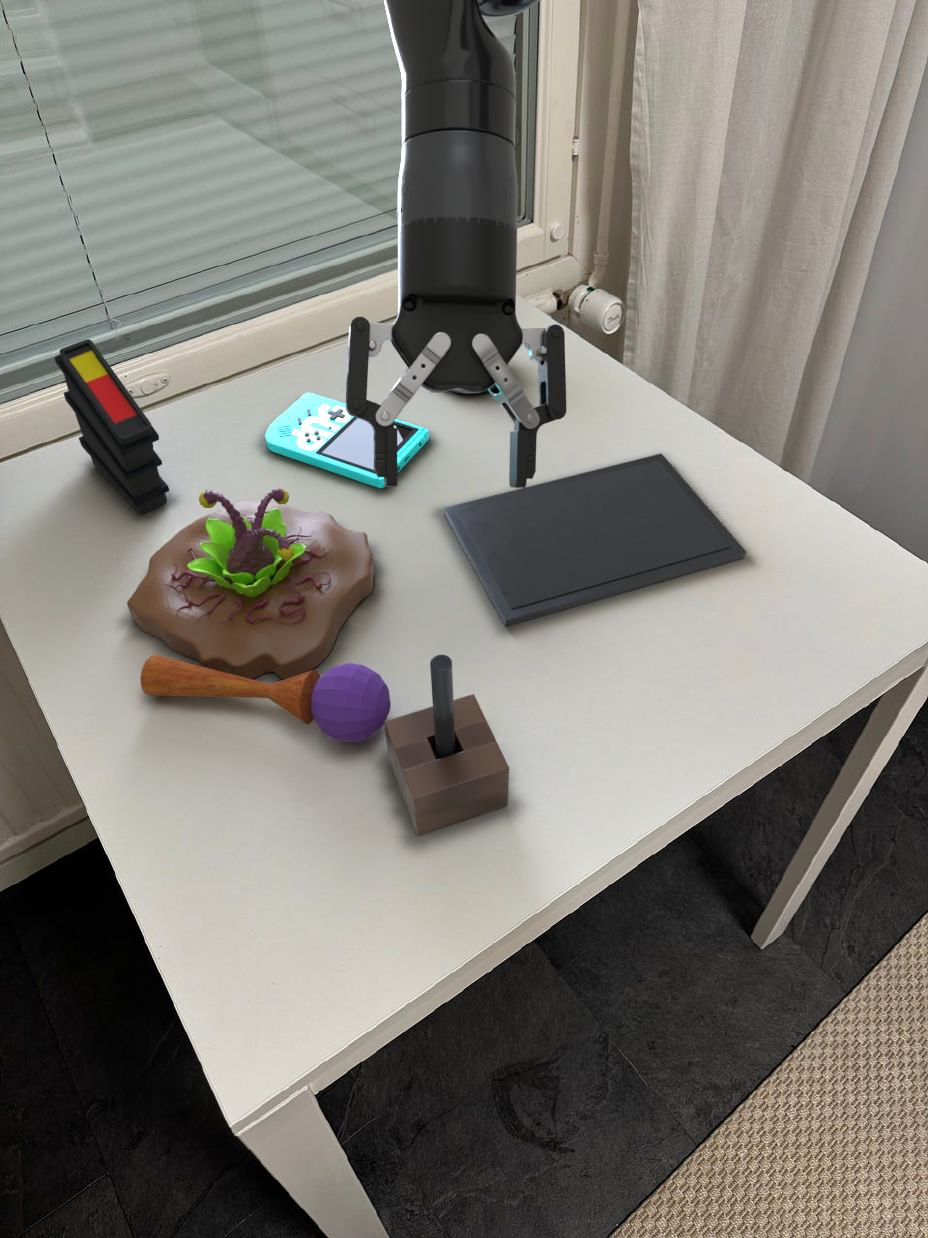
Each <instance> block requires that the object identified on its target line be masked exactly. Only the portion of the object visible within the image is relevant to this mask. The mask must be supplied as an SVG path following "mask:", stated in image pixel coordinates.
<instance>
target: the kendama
mask: <svg viewBox="0 0 928 1238" xmlns="http://www.w3.org/2000/svg"><path fill="white" fill-rule="evenodd" d="M140 686H141V689H142V691H143V693H144V694H145V695H146V696H161V697H162V696H163V697H201V698H203V697H205V698H206V697H207V698H243V699H244V698H245V699H269V700H270V701H272V702H273V703H274V704H275V705H277V706H279V707H280V708H282V709H283V710H285V711H286V712H288V713H289V714H290V715H292V716H293V717H295V718H296V719H297V720H299V721H300V722H301V723H303V724H305V725H310V724H311V723H313V721H315V723H316V724H317V726H318V727H319V729H320V731H321V732H322V733H324V734H325V735H327V736H329V737H330V738H331V739H333V740H336V741H342V742H347V743H357V742H361V741H365V740H368V739H370V738H371V737H372V736H373V735H375V734H376V733H377V732H378V731H380V730H381V729H382V728H383V727H384V721H386V720H388V716H389V714H390V711H391V696H390V689H389V687H388V685H387V684H386V682H385V680H384V678H383V677H382V676H381V675H380V673H378V672H376V671H375V670H373V669H371V668H370V667H368V666H366V665H364V664H361V663H360V664H359V663H353V662H346V663H341V664H339V665H336V666H333V667H331V668H329V669H328V670H327V671H326V672H325V673H324V674H322V675H321V674H320V672H319V671H318V670H316V669H311V670H309V671H307V672H305V673H303V674H300V675H297V676H294V677H291V678H288V679H282V680H279V681H276V682H274V683H267V682H263V681H259V680H256V679H248V678H244V677H240V676H237V675H233V674H229V673H225V672H221V671H217V670H214V669H210V668H206V667H203V665H202V666H201V665H198V664H194V663H190V662H186V661H182V660H179V659H175V658H171V657H168V656H163V655H159V654H156V653H155V654H152V655H149V657H147V658H146V660H145V661H144V663H143V666H142V668H141V672H140Z"/></svg>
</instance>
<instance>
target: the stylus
mask: <svg viewBox="0 0 928 1238" xmlns="http://www.w3.org/2000/svg"><path fill="white" fill-rule="evenodd" d="M429 671H430V685H431V698H432V699H431V701H432V706H433V717H434V732H435V748H436V760H438V759H441V758H444V757H447V756H450V755H453V754H455V729H454V701H453V700H454V678H453V677H454V676H453V675H454V674H453V661H452V659H451V657H450V656H448V655H446V654H436V655H434V656H433V657H432V658H431V659H430V662H429Z"/></svg>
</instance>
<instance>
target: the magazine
mask: <svg viewBox="0 0 928 1238" xmlns="http://www.w3.org/2000/svg"><path fill="white" fill-rule="evenodd" d="M54 362H55V364H56V365H57V367H58V368H59V370H60V371H61V372H62V374H63V375H64V380H65V384H66V387H67V391H64V392H63V396H64V400H65V402H66V403H67V404H68V406H70V408H71V409H72V411H73V412H74V414H75V417H76V421H77V423H78V427H79V429H80V432H81V435H82V436H79V437H78V441H79V443H80V445H81V447H82V448H83V449H84V451H85V452H87V454H88V455H89V456H90V459H91V462H92V464H93V466H94V467H95V468H96V469H97V470H98V471H99V472H100V473H101V474H102V475H103V476H104V477H105V479H106V480H107V481H108V482H109V483H111V485H112V486H113V488H115V489H116V490H117V491H118V492H119V493H120V494H121V495H122V497H123V498H125V499H126V500H127V502H128V503H129V504H130V505H131V506H132V507H133V508H134V509H135V510H136V511H137V513H139V514H141V515H142V514H146V513H148V512H149V511H150V512H151V511H152V510H154V509H156V508H158V507H160V506H162V505H165V504H166V503H167V502H168V498H167V495H166V493H168V492H170V487H169V485H168V484H167V483H166V482H165V480H164V479H163V478H162V477H161V476H160V473H159V469H158V468H159V466H161V465H163V461H162V459H161V457H160V456H159V455H158V453H157V452H156V451H155V449H154V443H155V442H157V441H160V436H159V435H160V434H158V432H157V430H156V429H155V428H154V426H153V425H152V423H151V421H150V420H149V418H148V417H147V416H146V414H145V413H144V411H143V410H142V409H141V407H140V406H139V405H138V403H137V402H136V400H135V398H134V397H133V396H132V395H131V393H130V392H129V391H128V389H127V387H126V386H125V385H124V384H123V383H122V381H121V380H120V378H119V377H118V375H117V374H116V372H115V371H114V370H113V368H112V366H111V365H110V364H109V363H108V361H107V360H106V358H105V357H104V356H103V354H102V353H101V352H100V350H99V349H98V347H97V346H96V345H95V343H94V342H93V341H92V340H91V339H87V338H86V339H84V340H81V341H79V342H76V343H73V344H70V345H68V346H65V347H63V348H61V349H59V355H56V356H54Z"/></svg>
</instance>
